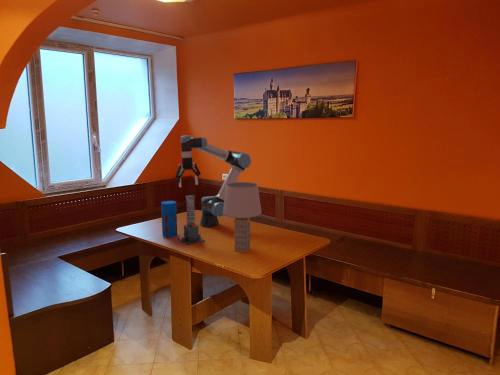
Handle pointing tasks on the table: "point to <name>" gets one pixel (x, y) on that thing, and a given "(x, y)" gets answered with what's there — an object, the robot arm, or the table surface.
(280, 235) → the table surface
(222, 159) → the robot arm
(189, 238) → the stand base
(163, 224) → the thermos
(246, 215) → the lamp
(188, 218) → the column
